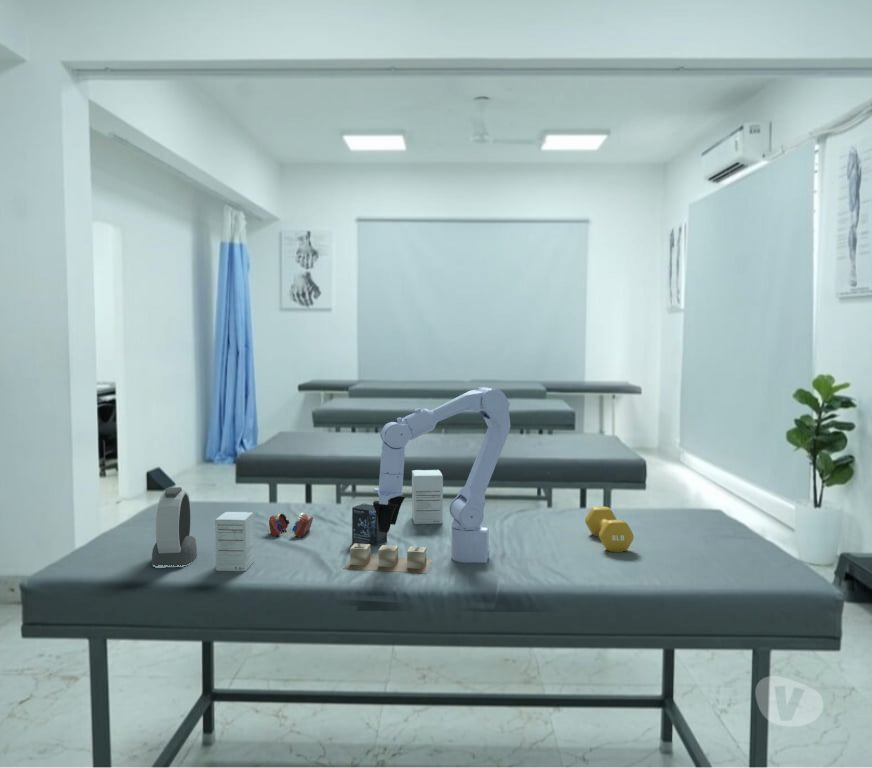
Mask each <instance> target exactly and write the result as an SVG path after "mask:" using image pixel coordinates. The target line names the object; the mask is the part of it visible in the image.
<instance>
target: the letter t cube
mask: <svg viewBox="0 0 872 768" xmlns="http://www.w3.org/2000/svg"><path fill="white" fill-rule="evenodd" d="M349 551H350V553H349V554H350V555H349V556H350V558H349V561H350V565H367V564H368V563H369V561H370V556H371V546H370V544H358V543H353V545H352V546H351V547H350V548H349Z"/></svg>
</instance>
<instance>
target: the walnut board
mask: <svg viewBox="0 0 872 768" xmlns="http://www.w3.org/2000/svg"><path fill="white" fill-rule="evenodd" d="M432 562H433V559H427V558H426V565H425V567H424V569H419V568H407V557H398V563H397V565H396V566H395V567H384V566H379V556H373V555H372V556H371V555H370V561H369V563H368V564H367V565H350V560H349V561H347V563H345V565H344V566H343V567H342V569H343V570H359V571H378V572H395V573H396V572H397V573H410V574H427V572H428V569H429V568H430V566H431V564H432Z"/></svg>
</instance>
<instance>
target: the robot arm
mask: <svg viewBox="0 0 872 768" xmlns="http://www.w3.org/2000/svg"><path fill="white" fill-rule="evenodd" d="M510 405H511V403H510V401H509V400H508V398H507V396H506V394H505V393H504V392H503V390H501V389H498V388H490V387H487V386H479V387H477V388H476V389H472V390H468V391H467V392H465V393H462V394H460V395H459V396H457V397H456V396H455V398H453V399H451V400H449V401H447V402H445V403H443V404H441V405H439V406H437V407H436V408H433V409H431V410H430V409H428V408H420V407H417V408H415V409H414V410H413V411H414V412H413V413H411V414H408V415H406V416H404V417H401V416H400V417H397V418H396V421H397V422H395V421H391V422H390V421H389V422H388V423H385V425H384V426H383V427H382V429H381V431H380V432H379V435H380V436H379V437H380V439H381V441H382V445H381V453H380V464H379V466H380V467H379V479H378V487H374V489H373V493H376V494H378V496H379V497H378V500H374V501H373V503H372V505H373V506H374V508H375V511H376V514H377V518H378V525H379V531H380V532H387V533H389V532H390V529H391V525H393V526H395V525H396V524H397V521H398V517H399V516H398V515H399V514H400V509H401V507H402V505H403V503H404V500H405V499H406V495H404V494H403V493H404V491H403V486H404V484H403V483H404V473H405V472H404V471H405V469H404V468H405V457H406V454H405V452H406V451H405V448H406V445H407V444H408V443H409V441H412V440H414V439H416V438H419V437H421V436H423V435H425V434H428V433H429V432H432V431H434V430H435V427H436V426H437V423H438V422H439V423H440V422H441V421H443V420H446V419H448V418H450V417H453V416H455V415H458V414H461V413H463V412H465V411H473V412H478V413H479V414H481V416H482V417H483V420H484V421H485V423H486V426H487V430H486V432H485V435H484V437H483V440H482V443H481V444H480V447H479V449H478V452H477V455H476V458H475V460H474V462H473V465H472V467H471V469H470V471H469V475H468V477H467V480H466V482H465V485H464V486H462V487H461V489H460V490H459V491H458V494H457V495H456V497H455V498H454V499H452V501H450V504H449V509H448V510H449V513H450V515H451V517H452V518H453V521H452V523H451V556H450V557H451V559H452V560H453V561H455V562H457V563H479V564H480V563H481V564H483V563H484V564H487V563H488V560H489V558H490V550H489V547H490V540H489V539H490V532H489V531H490V530H489V527H485V526H481V525H482V523H483V521H484V508H485V506H486V495H485V494H486V491H487V489H488V486H489V483H490V480H491V478H492V476H493V474H494V471H495V468H496V466H497V464H498V461H499V458H500V456H501V453H502V450H503V448H504V445H505V443H506V440H507V438H508V436H509V433H510V430H511V418H510Z"/></svg>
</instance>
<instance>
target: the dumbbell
mask: <svg viewBox="0 0 872 768" xmlns="http://www.w3.org/2000/svg"><path fill="white" fill-rule="evenodd" d="M584 521H585V525H586V527H587V528H588V530H589V532H590V533H591V534H592V535H593V536H595V537H599V538H598V539H599V540H600V541H601V543H602V545H603V546H604V548H605V549H606V550H607V551H608V552H610V553H624V552H623V551H625V552H626V551H628V550H629V547H630V546H631V544H632V542H633V541H634V539H635V536H634V533H633V531H632V529H631V528H630V526H629V524H628V523H627V521H625V520H621V519H617V518H616V514H614V512H613V511H612V509H611V508H610V507H608V506H593V507H592V508H591V509H590V510H589V512H588V513H587V515H586V517H585V519H584Z"/></svg>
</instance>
